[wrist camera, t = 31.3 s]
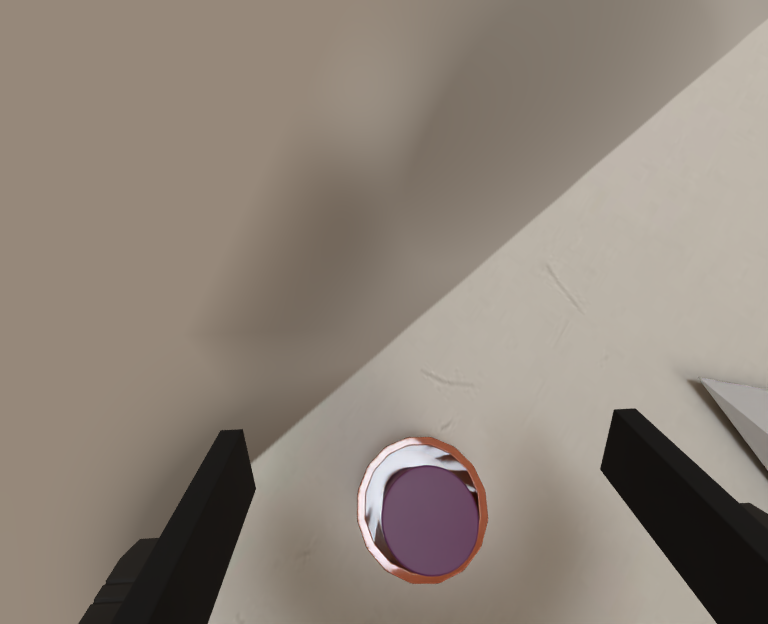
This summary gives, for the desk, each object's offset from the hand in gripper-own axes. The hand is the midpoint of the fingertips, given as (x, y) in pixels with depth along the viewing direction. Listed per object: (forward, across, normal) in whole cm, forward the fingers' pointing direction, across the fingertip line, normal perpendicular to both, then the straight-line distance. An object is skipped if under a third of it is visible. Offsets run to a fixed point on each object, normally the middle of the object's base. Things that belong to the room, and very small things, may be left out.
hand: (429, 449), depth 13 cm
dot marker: (+7, 0, -10) cm, 12 cm away
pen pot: (+7, 0, -10) cm, 12 cm away
